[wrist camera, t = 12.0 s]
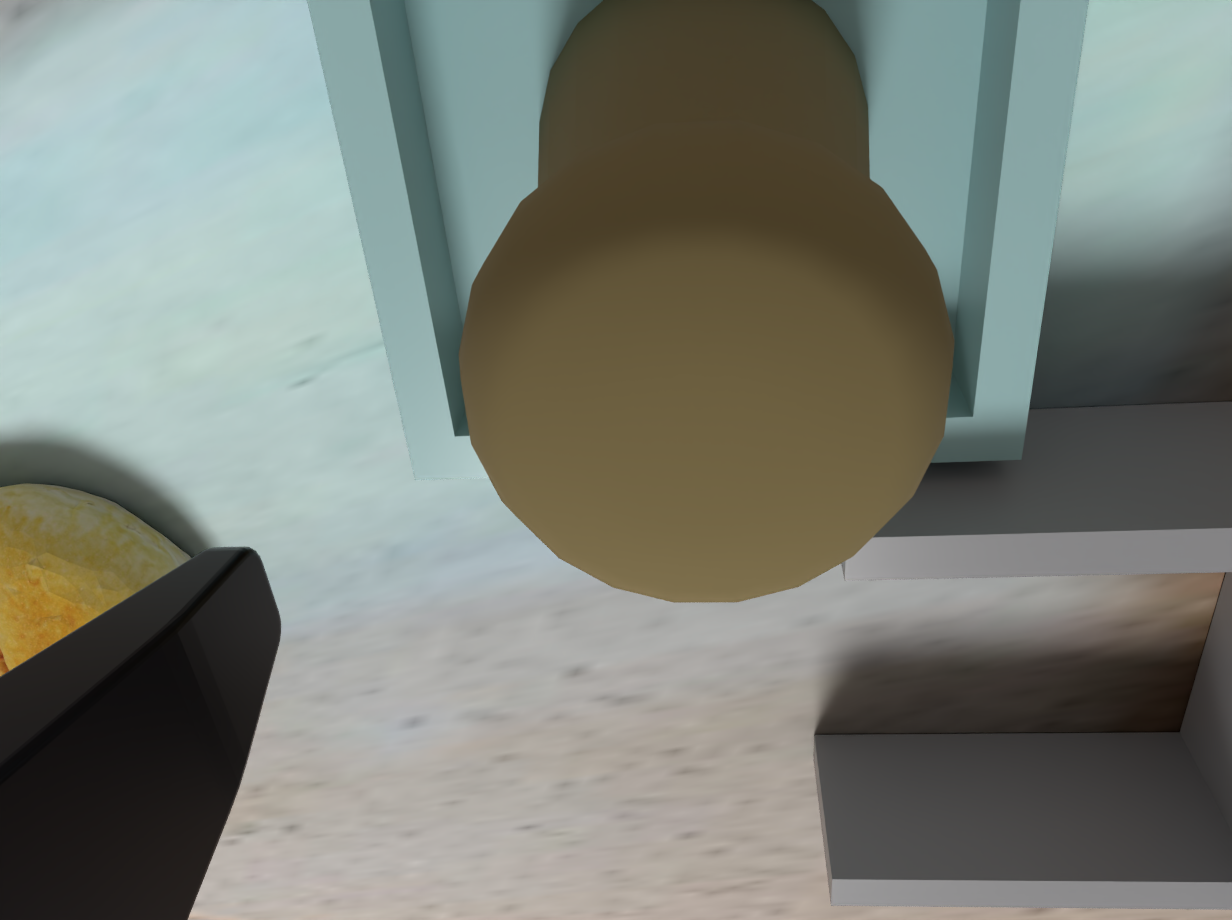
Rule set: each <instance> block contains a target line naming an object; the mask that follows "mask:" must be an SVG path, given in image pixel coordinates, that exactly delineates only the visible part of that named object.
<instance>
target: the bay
mask: <svg viewBox="0 0 1232 920" xmlns="http://www.w3.org/2000/svg"><path fill="white" fill-rule="evenodd" d="M841 564H842V569H843V574H844V580H845V581H853V580H897V579H942V578H987V577H1032V576H1077V575H1122V574H1166V573H1211V572H1226V574H1225V578H1224V581H1223V585H1222V588H1221V592H1220V595H1219V598H1218V602H1217V605H1216V609H1215V612H1214V616H1213V619H1212V623H1211V626H1210V629H1209V633H1208V636H1207V640H1206V643H1205V647H1204V650H1203V654H1202V657H1201V660H1200V664H1199V667H1198V671H1197V674H1196V678H1195V681H1194V684H1193V688H1192V691H1191V695H1190V698H1189V702H1188V705H1187V709H1186V712H1185V715H1184V719H1183V722H1182V726H1181V729H1180V732H1154V733H1010V734H866V735H814V768H815V776H816V784H817V793H818V801H819V809H820V818H821V826H822V834H823V843H824V851H825V859H826V868H827V876H828V884H829V893H830V901H831V906H930V907H1028V908H1127V909H1226V910H1232V401H1230V402H1204V403H1178V404H1152V405H1126V406H1101V407H1075V408H1049V409H1029V412H1028V419H1027V426H1026V433H1025V439H1024V446H1023V453H1022V460H1001V461H971V462H942V463H930V464H929V466H928V468H927V470H926V472H925V474H924V476H923V478H922V480H921V482H920V484H919V486H918V488H917V490H916V492H915V494H914V496H913V497H912V498H911V499H910V500H909V501H908V502H907V503H906V504H905V505H904V506H903V507H902V508H901V509H900V510H899V511H898V512H897V513H896V514H895V515H894V516H893V517H892V518H891V519H890V520H889V521H888V522H887V523H886V524H885V525H884V526H883V527H882V528H881V529H880V530H879V531H878V532H877V533H876V534H875V535H874V536H873V537H872V538H871V539H870V540H869V541H868V542H867V543H866V544H865V545H864V546H863V547H862V548H861V549H860V550H859V551H858V552H857V553H856V554H855V555H854V556H853V557H851V558H850V559H848V560H846V561H844V562H842V563H841Z"/></svg>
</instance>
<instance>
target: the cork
mask: <svg viewBox="0 0 1232 920" xmlns="http://www.w3.org/2000/svg"><path fill="white" fill-rule="evenodd" d="M954 343H955V340H954V336H953V332H952V328H951V324H950V320H949V316H948V312H947V308H946V304H945V300H944V296H943V292H942V287H941V283H940V279H939V275H938V271H937V269H936V267H935V265H934V263H933V262H932V260H931V258H930V256H929V255H928V253H927V251H926V249H925V248H924V246H923V245H922V244H921V242H920V241H919V239H918V238H917V236H916V235H915V234H914V232H913V231H912V229H911V228H910V226H909V225H908V223H907V222H906V221H905V219H904V218H903V216H902V215H901V213H900V212H899V210H898V209H897V208H896V206H895V205H894V203H893V202H892V200H891V199H890V198H889V196H888V195H887V193H886V192H885V190H884V189H883V188H882V187H881V186H880V185H878V184H877V183H875V182H874V181H872V180H871V179H870V161H869V118H868V104H867V100H866V97H865V93H864V89H863V85H862V81H861V77H860V73H859V70H858V66H857V62H856V58H855V55H854V53H853V52H852V50H851V49H850V47H849V46H848V44H847V43H846V41H845V40H844V38H843V37H842V35H841V34H840V32H839V31H838V29H837V28H836V26H835V25H834V23H833V22H832V20H831V19H830V17H829V16H828V14H827V13H826V11H825V10H824V9H823V8H822V7H820V6H819V5H817V4H816V3H815V2H813V1H812V0H603V1H602V2H601V3H600V4H599V5H597V6H596V7H595V8H594V9H593V10H592V11H591V12H590V13H588V14H587V15H586V16H585V17H584V18H583V19H582V20H581V21H580V22H578V23H577V25H576V27H575V28H574V30H573V32H572V34H571V35H570V37H569V39H568V41H567V42H566V44H565V46H564V48H563V49H562V51H561V53H560V55H559V56H558V58H557V60H556V62H555V63H554V65H553V67H552V68H551V70H550V74H549V79H548V84H547V88H546V93H545V98H544V102H543V107H542V112H541V117H540V121H539V157H538V188H536V189H535V190H534V191H533V192H532V193H530V194H529V195H528V196H527V197H526V198H524V199H523V200H522V201H521V202H520V203H519V205H518V206H517V208H516V210H515V211H514V213H513V215H512V216H511V218H510V220H509V221H508V223H507V225H506V226H505V228H504V230H503V231H502V233H501V235H500V236H499V238H498V240H497V241H496V243H495V245H494V246H493V248H492V250H491V251H490V253H489V255H488V256H487V258H486V260H485V261H484V263H483V265H482V267H481V269H480V270H479V272H478V274H477V276H476V278H475V280H474V282H473V284H472V286H471V292H470V297H469V302H468V307H467V312H466V318H465V323H464V328H463V333H462V338H461V344H460V349H459V366H460V378H461V385H462V391H463V397H464V403H465V410H466V416H467V422H468V428H469V435H470V441H471V445H472V447H473V449H474V450H475V452H476V454H477V456H478V458H479V460H480V462H481V464H482V465H483V467H484V469H485V471H486V473H487V475H488V477H489V478H490V480H491V482H492V484H493V486H494V488H495V490H496V491H497V493H498V495H499V497H500V499H501V501H502V502H503V503H504V504H505V505H506V506H507V507H508V508H509V509H510V510H511V511H512V512H513V513H514V514H515V516H516V517H517V518H518V519H520V520H521V521H522V522H523V523H524V524H525V525H526V526H527V527H528V528H529V529H530V530H531V531H532V532H533V533H534V534H535V535H536V536H537V537H538V538H539V539H540V540H541V541H542V542H543V543H544V544H545V545H546V546H547V547H548V548H549V549H550V550H551V551H552V552H553V553H554V554H555V555H556V556H557V557H558V558H560V559H562V560H563V561H565V562H567V563H569V564H571V565H573V566H574V567H576V568H578V569H580V570H582V571H584V572H586V573H587V574H589V575H591V576H593V577H595V578H597V579H599V580H600V581H602V582H604V583H606V584H608V585H610V586H611V587H613V588H618V589H622V590H626V591H630V592H634V593H638V594H642V595H646V596H650V597H654V598H658V599H662V600H666V601H670V602H740V601H744V600H748V599H752V598H756V597H760V596H764V595H768V594H772V593H776V592H780V591H784V590H787V589H791V588H795V587H799V586H801V585H803V584H804V583H806V582H808V581H810V580H812V579H813V578H815V577H817V576H819V575H821V574H822V573H824V572H826V571H828V570H830V569H831V568H833V567H835V566H837V565H839V564H841V563H842V562H844V561H846V560H848V559H850V558H851V557H853V556H854V555H855V554H856V553H857V552H858V551H859V550H860V549H861V548H862V547H863V546H864V545H865V544H866V543H867V542H868V541H869V540H870V539H871V538H872V537H873V536H874V535H875V534H876V533H877V532H878V531H879V530H880V529H881V528H882V527H883V526H884V525H885V524H886V523H887V522H888V521H889V520H890V519H891V518H892V517H893V516H894V515H895V514H896V513H897V512H898V511H899V510H900V509H901V508H902V507H903V506H904V505H905V504H906V503H907V502H908V501H909V500H910V499H911V498H912V497H913V496H914V494H915V492H916V490H917V488H918V486H919V484H920V482H921V480H922V478H923V476H924V474H925V472H926V470H927V468H928V466H929V464H930V462H931V460H932V458H933V456H934V455H935V453H936V451H937V449H938V447H939V445H940V443H941V441H942V439H943V437H944V432H945V424H946V415H947V407H948V399H949V391H950V383H951V375H952V367H953V355H954Z"/></svg>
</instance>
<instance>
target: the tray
mask: <svg viewBox="0 0 1232 920" xmlns="http://www.w3.org/2000/svg"><path fill="white" fill-rule="evenodd" d="M602 1H603V0H307V2H308V6H309V11H310V15H311V20H312V24H313V29H314V33H315V37H316V42H317V46H318V51H319V55H320V60H321V64H322V69H323V73H324V77H325V82H326V86H327V91H328V95H329V100H330V104H331V109H332V113H333V117H334V122H335V126H336V131H337V135H338V140H339V144H340V149H341V153H342V157H343V162H344V166H345V171H346V175H347V180H348V184H349V189H350V193H351V197H352V202H353V206H354V211H355V215H356V220H357V224H358V229H359V233H360V237H361V242H362V246H363V251H364V255H365V260H366V264H367V269H368V273H369V277H370V282H371V286H372V291H373V295H374V300H375V304H376V309H377V313H378V317H379V322H380V326H381V331H382V335H383V340H384V344H385V349H386V353H387V357H388V362H389V366H390V371H391V375H392V380H393V384H394V389H395V393H396V397H397V402H398V406H399V411H400V415H401V420H402V424H403V429H404V433H405V437H406V442H407V446H408V451H409V455H410V460H411V464H412V469H413V473H414V477H415V480H438V479H468V478H489V477H488V475H487V473H486V471H485V469H484V467H483V465H482V464H481V462H480V460H479V458H478V456H477V454H476V452H475V450H474V449H473V447H472V445H471V441H470V435H469V428H468V422H467V416H466V410H465V403H464V397H463V391H462V385H461V378H460V366H459V349H460V344H461V338H462V333H463V328H464V323H465V318H466V312H467V307H468V302H469V297H470V292H471V286H472V284H473V282H474V280H475V278H476V276H477V274H478V272H479V270H480V269H481V267H482V265H483V263H484V261H485V260H486V258H487V256H488V255H489V253H490V251H491V250H492V248H493V246H494V245H495V243H496V241H497V240H498V238H499V236H500V235H501V233H502V231H503V230H504V228H505V226H506V225H507V223H508V221H509V220H510V218H511V216H512V215H513V213H514V211H515V210H516V208H517V206H518V205H519V203H520V202H521V201H522V200H523V199H524V198H526V197H527V196H528V195H529V194H530V193H532V192H533V191H534V190H535V189H536V188H538V157H539V121H540V117H541V112H542V107H543V102H544V98H545V93H546V88H547V84H548V79H549V74H550V70H551V68H552V67H553V65H554V63H555V62H556V60H557V58H558V56H559V55H560V53H561V51H562V49H563V48H564V46H565V44H566V42H567V41H568V39H569V37H570V35H571V34H572V32H573V30H574V28H575V27H576V25H577V23H578V22H580V21H581V20H582V19H583V18H584V17H585V16H586V15H587V14H588V13H590V12H591V11H592V10H593V9H594V8H595V7H596V6H597V5H599V4H600V3H601V2H602ZM812 1H813V2H815V3H816V4H817V5H819V6H820V7H822V8H823V9H824V10H825V11H826V13H827V14H828V16H829V17H830V19H831V20H832V22H833V23H834V25H835V26H836V28H837V29H838V31H839V32H840V34H841V35H842V37H843V38H844V40H845V41H846V43H847V44H848V46H849V47H850V49H851V50H852V52H853V53H854V55H855V58H856V62H857V66H858V70H859V73H860V77H861V81H862V85H863V89H864V93H865V97H866V100H867V104H868V118H869V161H870V179H871V180H872V181H874V182H875V183H877V184H878V185H880V186H881V187H882V188H883V189H884V190H885V192H886V193H887V195H888V196H889V198H890V199H891V200H892V202H893V203H894V205H895V206H896V208H897V209H898V210H899V212H900V213H901V215H902V216H903V218H904V219H905V221H906V222H907V223H908V225H909V226H910V228H911V229H912V231H913V232H914V234H915V235H916V236H917V238H918V239H919V241H920V242H921V244H922V245H923V246H924V248H925V249H926V251H927V253H928V255H929V256H930V258H931V260H932V262H933V263H934V265H935V267H936V269H937V271H938V275H939V279H940V283H941V287H942V292H943V296H944V300H945V304H946V308H947V312H948V316H949V320H950V324H951V328H952V332H953V336H954V340H955V343H954V355H953V367H952V375H951V383H950V391H949V399H948V407H947V415H946V424H945V432H944V437H943V439H942V441H941V443H940V445H939V447H938V449H937V451H936V453H935V455H934V456H933V458H932V460H931V462H930V463H942V462H971V461H1001V460H1022V453H1023V446H1024V439H1025V433H1026V426H1027V419H1028V412H1029V405H1030V398H1031V392H1032V385H1033V378H1034V371H1035V364H1036V357H1037V351H1038V344H1039V337H1040V330H1041V323H1042V316H1043V310H1044V303H1045V296H1046V289H1047V282H1048V275H1049V269H1050V262H1051V255H1052V248H1053V241H1054V234H1055V228H1056V221H1057V214H1058V207H1059V200H1060V193H1061V187H1062V180H1063V173H1064V166H1065V159H1066V152H1067V146H1068V139H1069V132H1070V125H1071V118H1072V112H1073V105H1074V98H1075V91H1076V84H1077V77H1078V71H1079V64H1080V57H1081V50H1082V43H1083V36H1084V30H1085V23H1086V16H1087V9H1088V2H1089V0H812Z"/></svg>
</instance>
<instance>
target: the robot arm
mask: <svg viewBox="0 0 1232 920" xmlns="http://www.w3.org/2000/svg"><path fill="white" fill-rule="evenodd" d="M280 636H281V620H280V615H279V611H278V608H277V605H276V602H275V599H274V596H273V593H272V590H271V587H270V584H269V581H268V578H267V575H266V572H265V569H264V566H263V563H262V560H261V558H260V556H259V555H258V553H257V552H256V551H255V550H253V549H252V548H250V547H214V548H209V549H206V550H204V551H203V552H201V553H199V554H198V555H196V556H194V557H193V558H191V559H190V560H188V561H186V562H185V563H183V564H182V565H180V566H178V567H177V568H175V569H173V570H172V571H170V572H169V573H167V574H165V575H164V576H162V577H160V578H159V579H157V580H156V581H154V582H152V583H151V584H149V585H147V586H146V587H144V588H143V589H141V590H139V591H138V592H136V593H135V594H133V595H131V596H130V597H128V598H126V599H125V600H123V601H122V602H120V603H118V604H117V605H115V606H113V607H112V608H110V609H109V610H107V611H105V612H104V613H102V614H101V615H99V616H97V617H96V618H94V619H92V620H91V621H89V622H88V623H86V624H84V625H83V626H81V627H79V628H78V629H76V630H75V631H73V632H71V633H70V634H68V635H67V636H65V637H63V638H62V639H60V640H58V641H57V642H55V643H54V644H52V645H50V646H49V647H47V648H45V649H44V650H42V651H41V652H39V653H37V654H36V655H34V656H33V657H31V658H29V659H28V660H26V661H24V662H23V663H21V664H20V665H18V666H16V667H15V668H13V669H11V670H10V671H8V672H7V673H5V674H3V675H2V676H0V920H188V917H189V914H190V912H191V909H192V907H193V904H194V902H195V899H196V897H197V894H198V892H199V889H200V887H201V884H202V882H203V879H204V877H205V874H206V872H207V869H208V867H209V864H210V861H211V859H212V856H213V854H214V851H215V849H216V846H217V844H218V841H219V839H220V836H221V834H222V831H223V829H224V826H225V824H226V821H227V819H228V816H229V814H230V811H231V808H232V806H233V803H234V800H235V797H236V795H237V792H238V789H239V787H240V784H241V780H242V777H243V774H244V770H245V767H246V764H247V760H248V757H249V753H250V749H251V746H252V742H253V738H254V735H255V731H256V727H257V724H258V720H259V716H260V713H261V709H262V705H263V701H264V698H265V694H266V690H267V687H268V683H269V679H270V676H271V672H272V668H273V665H274V661H275V657H276V654H277V650H278V646H279V642H280Z"/></svg>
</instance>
